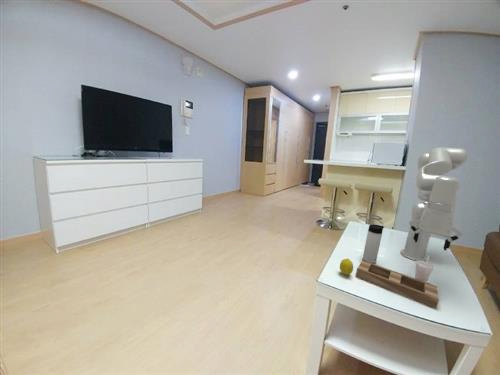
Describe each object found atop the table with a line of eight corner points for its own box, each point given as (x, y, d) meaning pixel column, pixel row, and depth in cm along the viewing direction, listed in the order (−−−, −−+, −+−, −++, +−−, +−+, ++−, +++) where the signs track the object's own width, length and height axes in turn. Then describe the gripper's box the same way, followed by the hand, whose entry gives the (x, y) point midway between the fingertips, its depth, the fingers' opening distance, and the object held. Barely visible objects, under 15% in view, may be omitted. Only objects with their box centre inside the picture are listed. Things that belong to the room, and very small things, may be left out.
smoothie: (430, 290, 91) (438, 260, 88) (411, 284, 94) (418, 255, 91) (427, 283, 96) (435, 254, 94) (410, 277, 99) (416, 250, 97)
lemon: (336, 271, 100) (339, 255, 98) (347, 271, 100) (350, 255, 99) (342, 278, 94) (345, 261, 93) (354, 278, 95) (357, 262, 93)
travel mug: (378, 265, 108) (386, 228, 104) (364, 263, 109) (371, 226, 105) (373, 259, 114) (381, 224, 110) (360, 257, 115) (367, 222, 111)
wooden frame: (360, 267, 105) (362, 259, 104) (434, 294, 88) (437, 286, 87) (355, 276, 97) (357, 268, 96) (436, 309, 80) (438, 299, 79)
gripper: (413, 203, 91) (404, 241, 94) (470, 213, 80) (458, 256, 83) (414, 201, 96) (405, 236, 99) (467, 210, 86) (456, 250, 89)
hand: (429, 245), depth 91 cm, fingers open, 9 cm apart
